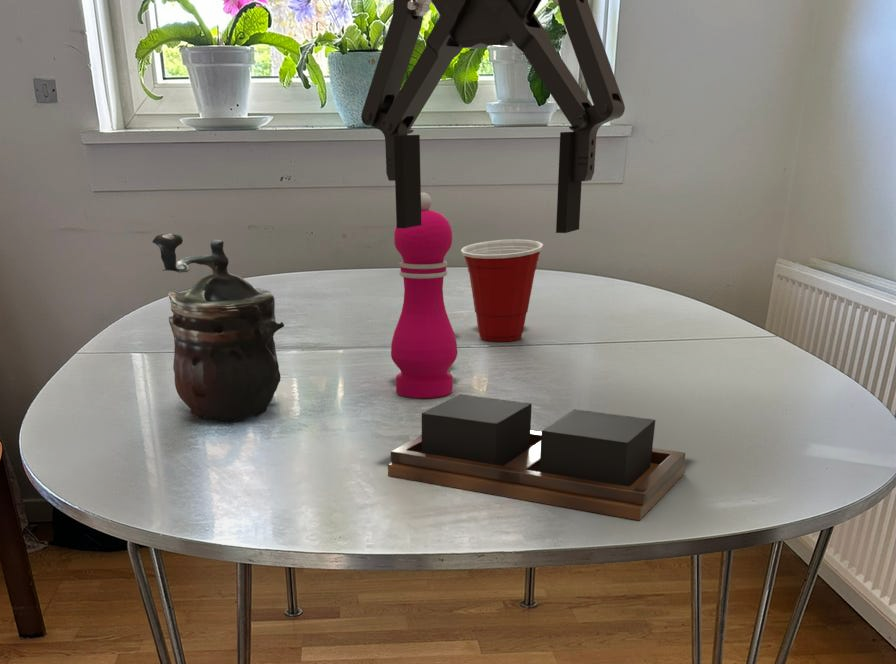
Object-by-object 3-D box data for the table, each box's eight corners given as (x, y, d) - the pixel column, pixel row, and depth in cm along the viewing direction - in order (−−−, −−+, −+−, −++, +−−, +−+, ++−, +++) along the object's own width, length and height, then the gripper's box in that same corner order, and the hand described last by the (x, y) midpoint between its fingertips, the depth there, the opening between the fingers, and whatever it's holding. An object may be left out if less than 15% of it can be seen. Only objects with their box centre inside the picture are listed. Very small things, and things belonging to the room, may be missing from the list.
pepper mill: (469, 388, 106) (472, 191, 96) (433, 403, 100) (433, 195, 91) (415, 380, 109) (413, 189, 100) (378, 394, 104) (372, 193, 94)
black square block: (650, 467, 78) (655, 419, 76) (622, 493, 73) (627, 442, 71) (570, 455, 81) (574, 409, 79) (538, 479, 76) (541, 430, 74)
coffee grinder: (141, 436, 91) (109, 235, 83) (193, 397, 104) (170, 218, 95) (268, 440, 90) (249, 234, 81) (305, 399, 102) (292, 218, 94)
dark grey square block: (529, 448, 83) (532, 403, 81) (495, 471, 78) (497, 423, 76) (459, 437, 86) (459, 393, 84) (421, 459, 81) (421, 413, 79)
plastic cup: (443, 338, 130) (443, 244, 124) (498, 327, 136) (500, 237, 131) (500, 349, 123) (503, 250, 117) (555, 337, 129) (560, 243, 123)
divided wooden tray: (684, 473, 80) (687, 450, 79) (639, 520, 71) (642, 495, 70) (453, 438, 89) (453, 417, 88) (387, 475, 80) (387, 452, 79)
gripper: (690, -134, 60) (657, 228, 70) (360, -86, 71) (374, 220, 82) (654, -159, 55) (624, 238, 65) (302, -102, 66) (324, 229, 76)
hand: (485, 229), depth 73 cm, fingers open, 13 cm apart
